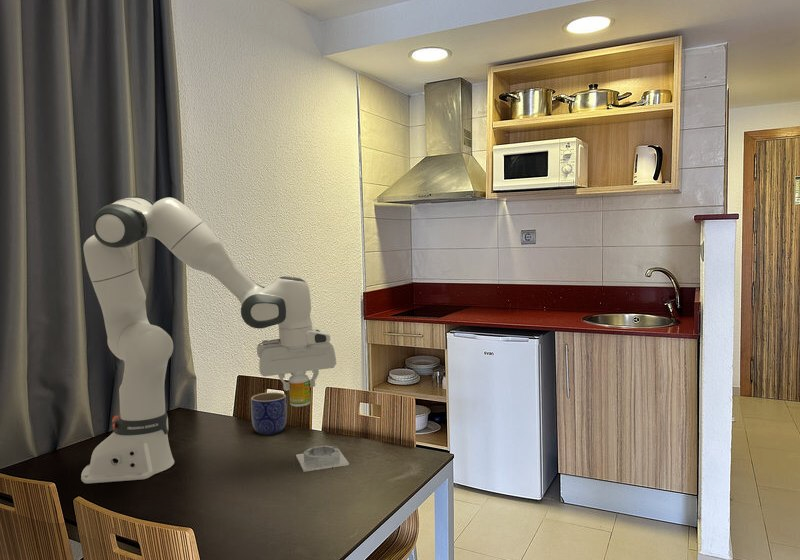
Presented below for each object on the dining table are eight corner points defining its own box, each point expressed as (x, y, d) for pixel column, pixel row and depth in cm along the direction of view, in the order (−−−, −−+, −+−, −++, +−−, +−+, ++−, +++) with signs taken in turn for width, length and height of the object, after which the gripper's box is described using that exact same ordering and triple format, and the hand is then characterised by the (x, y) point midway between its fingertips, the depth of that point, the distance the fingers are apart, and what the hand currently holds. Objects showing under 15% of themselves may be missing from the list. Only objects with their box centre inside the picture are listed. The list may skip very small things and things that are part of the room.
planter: (294, 429, 192) (293, 394, 192) (270, 439, 183) (268, 402, 182) (269, 424, 198) (268, 390, 197) (244, 433, 189) (243, 398, 188)
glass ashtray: (303, 471, 156) (303, 462, 156) (296, 456, 167) (295, 447, 167) (348, 465, 160) (348, 455, 160) (338, 450, 171) (338, 441, 171)
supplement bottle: (308, 406, 159) (306, 370, 158) (288, 407, 160) (285, 371, 159) (312, 400, 165) (310, 365, 164) (292, 401, 165) (290, 366, 164)
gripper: (257, 343, 154) (261, 396, 155) (335, 335, 160) (339, 385, 162) (255, 339, 160) (258, 390, 161) (330, 331, 166) (333, 380, 168)
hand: (299, 388), depth 162 cm, fingers closed on supplement bottle, 5 cm apart
